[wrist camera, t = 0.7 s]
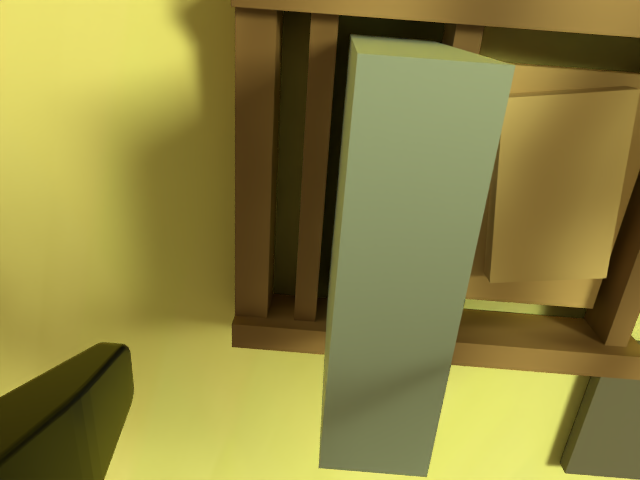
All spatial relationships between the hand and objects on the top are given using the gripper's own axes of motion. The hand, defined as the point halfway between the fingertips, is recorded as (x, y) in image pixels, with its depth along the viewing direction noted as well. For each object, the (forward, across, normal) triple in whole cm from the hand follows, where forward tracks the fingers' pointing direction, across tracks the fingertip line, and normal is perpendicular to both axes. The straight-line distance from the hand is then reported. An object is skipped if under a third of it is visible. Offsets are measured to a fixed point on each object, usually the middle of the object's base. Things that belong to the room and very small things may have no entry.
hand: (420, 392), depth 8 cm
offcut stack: (+12, -6, 0) cm, 13 cm away
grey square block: (+12, 0, 0) cm, 12 cm away
